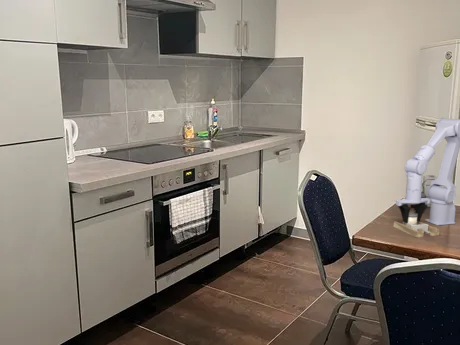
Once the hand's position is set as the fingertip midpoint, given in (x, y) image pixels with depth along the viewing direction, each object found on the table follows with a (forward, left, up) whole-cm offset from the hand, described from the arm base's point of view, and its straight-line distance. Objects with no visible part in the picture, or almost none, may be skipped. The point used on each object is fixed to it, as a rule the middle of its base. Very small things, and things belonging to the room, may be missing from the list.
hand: (411, 221), depth 186 cm
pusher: (0, +8, -3) cm, 8 cm away
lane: (0, +3, -3) cm, 4 cm away
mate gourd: (-23, -25, -3) cm, 34 cm away
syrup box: (-32, -29, -3) cm, 44 cm away
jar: (0, -1, -3) cm, 3 cm away
